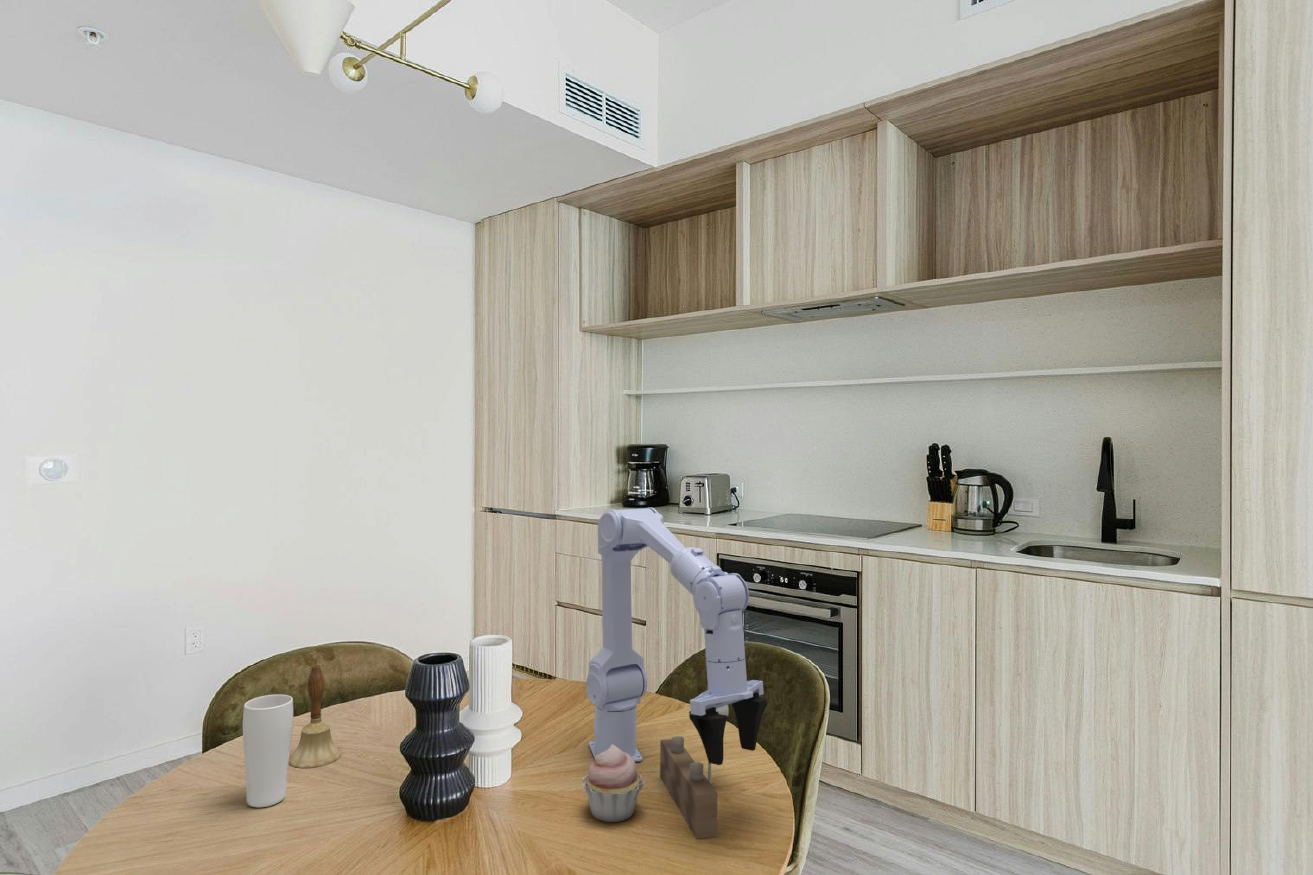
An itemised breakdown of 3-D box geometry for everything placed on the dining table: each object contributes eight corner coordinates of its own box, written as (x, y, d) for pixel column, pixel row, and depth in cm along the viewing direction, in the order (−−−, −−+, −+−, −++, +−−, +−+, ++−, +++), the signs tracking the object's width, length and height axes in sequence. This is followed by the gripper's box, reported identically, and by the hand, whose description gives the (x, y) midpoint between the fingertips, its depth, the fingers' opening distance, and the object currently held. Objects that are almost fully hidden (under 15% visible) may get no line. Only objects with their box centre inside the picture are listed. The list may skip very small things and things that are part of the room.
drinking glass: (301, 794, 113) (303, 697, 113) (264, 815, 106) (267, 711, 107) (267, 787, 115) (270, 691, 115) (229, 807, 109) (232, 705, 109)
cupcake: (629, 793, 115) (630, 729, 115) (653, 821, 106) (654, 751, 107) (572, 804, 111) (573, 737, 111) (592, 833, 103) (593, 762, 103)
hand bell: (333, 767, 123) (335, 671, 123) (281, 769, 122) (283, 673, 122) (346, 747, 131) (348, 658, 131) (297, 749, 130) (299, 659, 130)
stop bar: (659, 776, 121) (660, 727, 121) (677, 774, 122) (678, 726, 122) (696, 838, 102) (697, 781, 102) (716, 836, 102) (717, 778, 103)
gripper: (714, 670, 99) (722, 775, 97) (777, 652, 109) (784, 747, 107) (676, 666, 104) (682, 766, 102) (739, 649, 114) (746, 740, 112)
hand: (732, 756), depth 105 cm, fingers open, 7 cm apart
